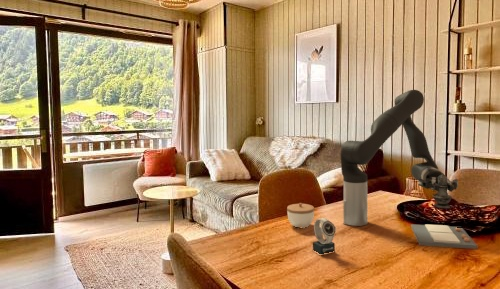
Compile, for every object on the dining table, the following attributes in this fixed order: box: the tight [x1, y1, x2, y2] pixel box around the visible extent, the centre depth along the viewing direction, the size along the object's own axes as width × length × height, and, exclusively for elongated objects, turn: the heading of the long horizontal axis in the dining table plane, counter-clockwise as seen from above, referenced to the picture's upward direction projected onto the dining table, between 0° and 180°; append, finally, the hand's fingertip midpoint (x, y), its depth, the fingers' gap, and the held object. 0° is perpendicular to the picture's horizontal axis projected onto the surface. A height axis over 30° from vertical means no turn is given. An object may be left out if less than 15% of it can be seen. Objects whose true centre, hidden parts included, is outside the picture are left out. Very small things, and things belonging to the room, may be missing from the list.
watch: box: [312, 217, 336, 254], centre depth 115 cm, size 6×8×11 cm
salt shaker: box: [432, 172, 452, 209], centre depth 125 cm, size 6×6×12 cm
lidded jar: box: [286, 202, 315, 229], centre depth 141 cm, size 11×11×9 cm
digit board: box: [410, 223, 478, 250], centre depth 125 cm, size 17×18×2 cm
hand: (444, 188), depth 122 cm, fingers closed on salt shaker, 3 cm apart
